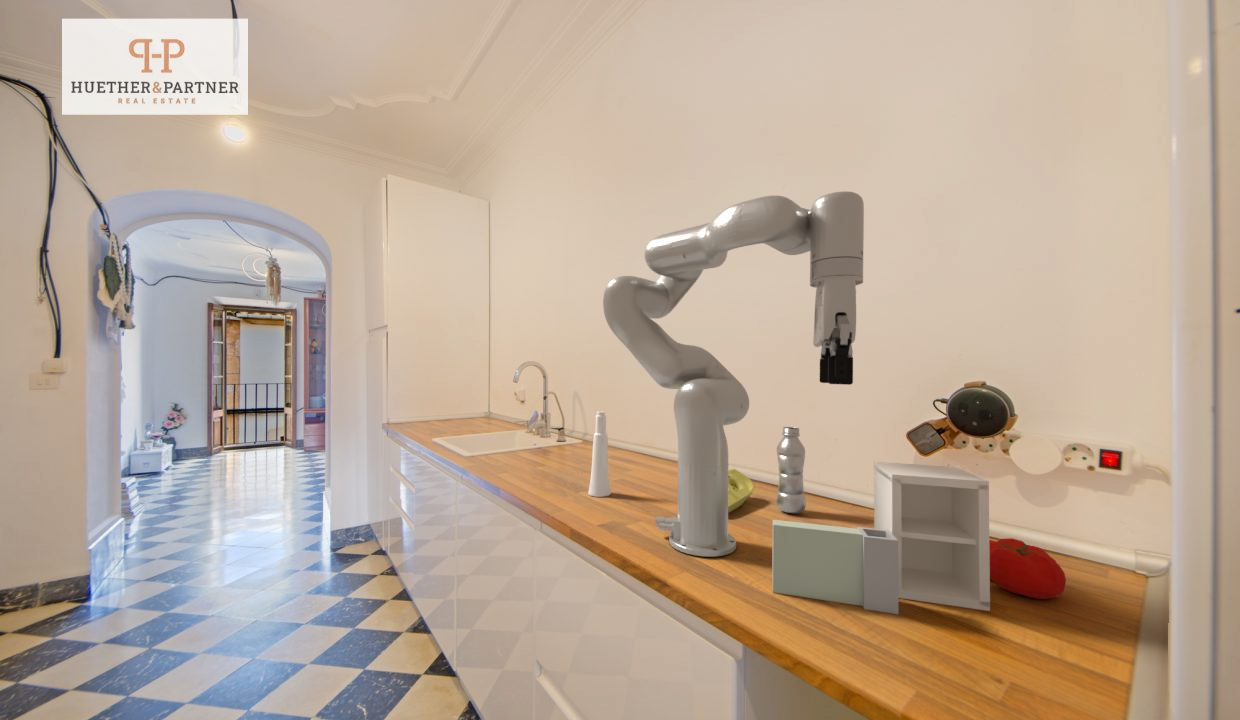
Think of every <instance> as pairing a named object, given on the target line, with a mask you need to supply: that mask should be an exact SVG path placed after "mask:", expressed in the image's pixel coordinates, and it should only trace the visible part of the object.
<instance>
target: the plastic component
mask: <svg viewBox="0 0 1240 720" xmlns="http://www.w3.org/2000/svg"><path fill="white" fill-rule="evenodd" d="M755 489H756V486H755V484H754V482H753V481H752V480H751V478H749V477H747V476H746V475H745V474H744V473H742V472H741V471H739V470H738V469H736V468H732V469H728V514H730V513H731V512H733V511H734V510H736V509H738V508H739V507H740V506H742V505H743V504H744V502H745V501H746V500H748V498H750V497H751V495H752V494H753V493H754V491H755Z"/></svg>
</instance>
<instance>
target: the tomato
mask: <svg viewBox="0 0 1240 720" xmlns="http://www.w3.org/2000/svg"><path fill="white" fill-rule="evenodd" d="M989 556H990V580H991V581H993V583H995V584H996V585H998V586H999V587H1001V588H1002V589H1003V590H1006V591H1008V592H1011V593H1013V594H1017V595H1020V596H1021V595H1022V596H1025V597H1029V598H1032V599H1037V600H1048V599H1049V600H1050V599H1053V598H1055V597H1058V596H1060V595H1061V594H1062V593H1063V592H1064V591H1065V588H1066V583H1067V579H1066V575H1065V572H1064V570H1063V568H1062V567H1061V566H1060V564H1058V563H1057V561H1056V560H1055V559H1054V558H1053V557H1051V556H1050V554H1048V553H1047V552H1046V551H1045V550H1044V549H1042V548H1040V547H1039V546H1036V545H1030V544H1026V543H1025V542H1024V541H1023V540H1020V539H1016V538H1014V537H1013V538H1012V537H1011V538H1010V537H1009V538H1001V539H999V540H997V541H996V540H992V539H989Z"/></svg>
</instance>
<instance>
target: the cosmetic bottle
mask: <svg viewBox="0 0 1240 720" xmlns="http://www.w3.org/2000/svg"><path fill="white" fill-rule="evenodd" d="M606 430H607V416H606V411H602V410H601V411H597V412H596V414H595V431H594V432H595V433H593V441H592V458H591V470H590V472H591V473H590V480H589V486H588V492H587V493H588V495H589V496H591V497H595V498H603V497H604V498H605V497H609V496H610V495H611V494H612V492H611V485H610V477H609V475H610V474H609V472H610V471H609V448H608V447H609V446H608V443H609V442H608V433H607V431H606Z"/></svg>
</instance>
